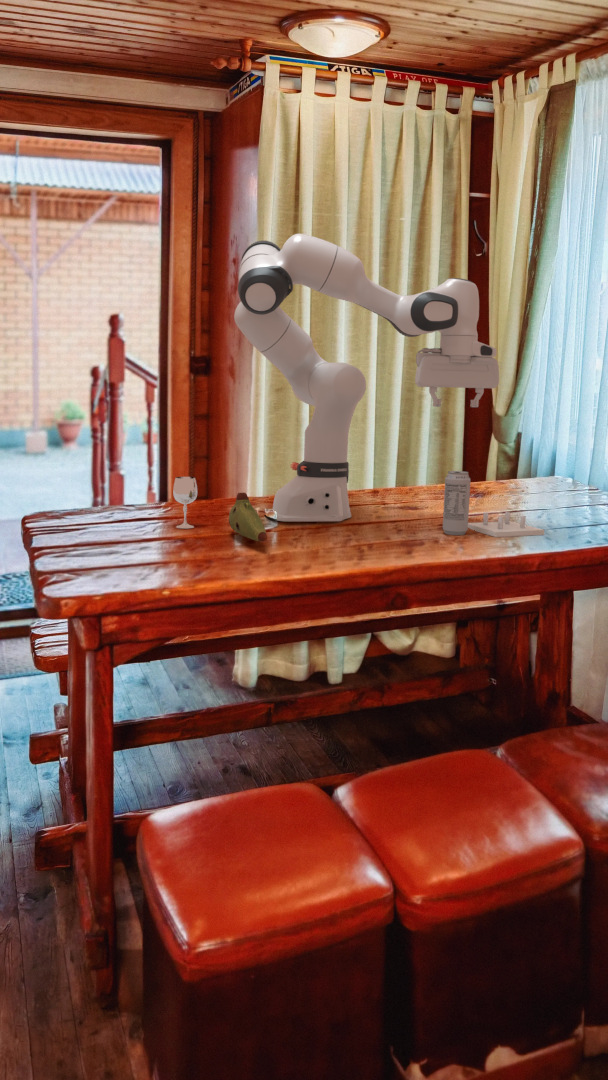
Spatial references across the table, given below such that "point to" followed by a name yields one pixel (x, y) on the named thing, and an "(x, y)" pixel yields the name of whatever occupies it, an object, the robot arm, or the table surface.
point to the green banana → (246, 519)
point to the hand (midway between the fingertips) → (455, 406)
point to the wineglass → (185, 494)
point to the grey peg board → (505, 527)
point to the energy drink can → (456, 503)
